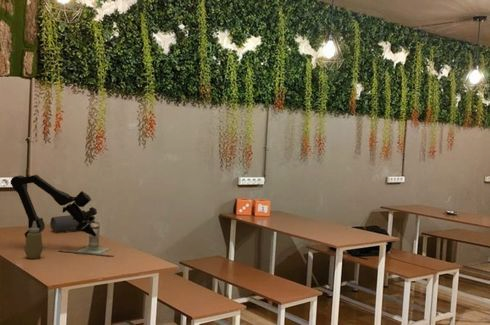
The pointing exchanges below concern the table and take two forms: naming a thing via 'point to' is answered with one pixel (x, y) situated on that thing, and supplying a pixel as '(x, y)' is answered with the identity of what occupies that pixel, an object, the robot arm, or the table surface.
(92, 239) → the skittle
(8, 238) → the table surface
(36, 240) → the squeeze bottle
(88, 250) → the mat
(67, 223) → the bluetooth speaker
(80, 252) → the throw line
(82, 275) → the table surface
